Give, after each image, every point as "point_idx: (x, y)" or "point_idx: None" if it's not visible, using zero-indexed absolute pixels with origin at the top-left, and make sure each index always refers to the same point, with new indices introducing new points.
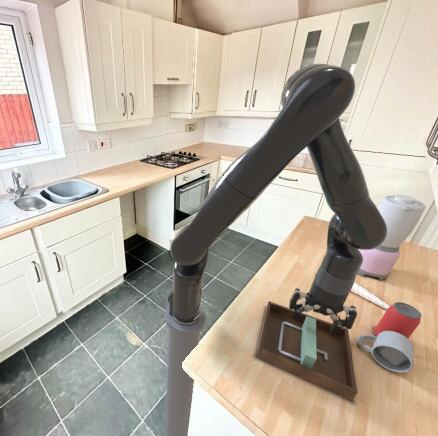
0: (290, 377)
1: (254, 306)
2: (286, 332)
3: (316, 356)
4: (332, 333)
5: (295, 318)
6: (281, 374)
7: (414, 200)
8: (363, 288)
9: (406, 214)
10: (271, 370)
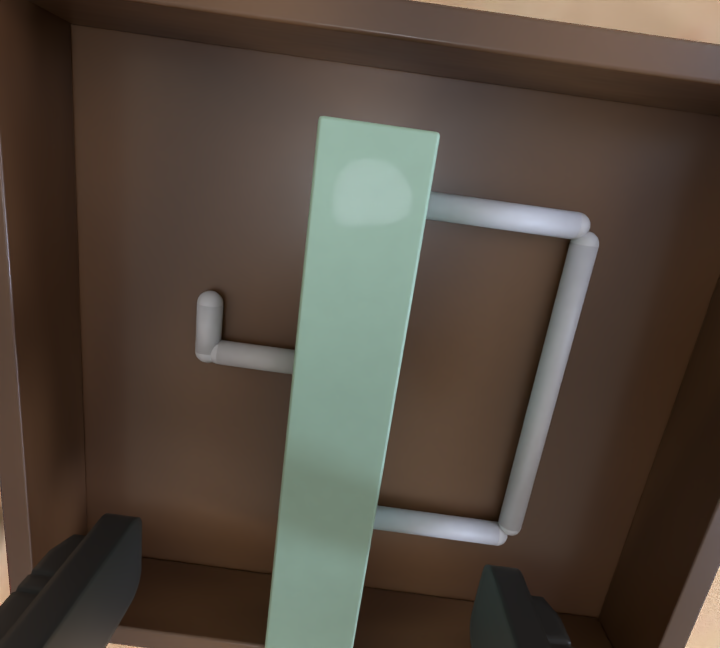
0: (509, 7)
1: (701, 612)
2: (486, 448)
3: (314, 161)
4: (105, 536)
5: (529, 613)
6: (585, 4)
7: None
8: None
9: None
10: (672, 8)
